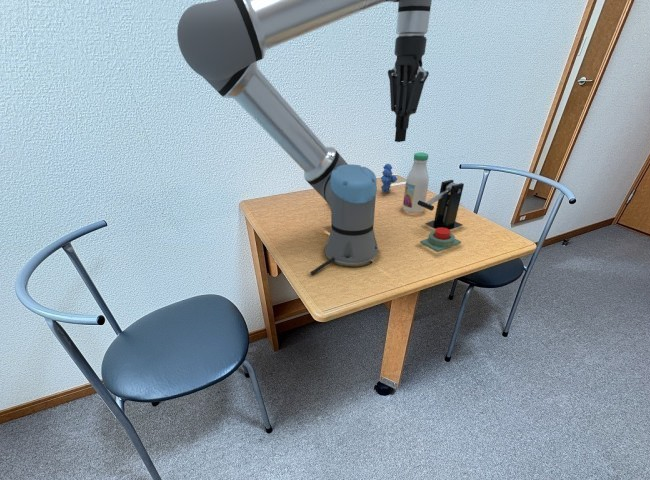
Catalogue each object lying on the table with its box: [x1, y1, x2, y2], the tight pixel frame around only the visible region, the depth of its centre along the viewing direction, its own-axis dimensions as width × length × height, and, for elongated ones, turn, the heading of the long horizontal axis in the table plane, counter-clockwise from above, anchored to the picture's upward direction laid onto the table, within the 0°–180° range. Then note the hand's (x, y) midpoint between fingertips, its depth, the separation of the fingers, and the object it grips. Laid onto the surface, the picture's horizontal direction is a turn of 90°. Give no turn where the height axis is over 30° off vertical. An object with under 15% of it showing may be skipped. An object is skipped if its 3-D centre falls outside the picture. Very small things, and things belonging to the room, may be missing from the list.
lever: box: [417, 182, 457, 212], centre depth 100 cm, size 13×6×2 cm, turn 123°
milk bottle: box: [402, 152, 430, 214], centre depth 113 cm, size 8×8×20 cm
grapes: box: [380, 163, 398, 194], centre depth 131 cm, size 12×7×12 cm, turn 165°
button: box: [434, 227, 452, 240], centre depth 96 cm, size 4×4×2 cm
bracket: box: [424, 179, 465, 231], centre depth 104 cm, size 10×8×15 cm
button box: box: [419, 230, 462, 253], centre depth 97 cm, size 10×7×4 cm
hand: (400, 141), depth 94 cm, fingers closed
